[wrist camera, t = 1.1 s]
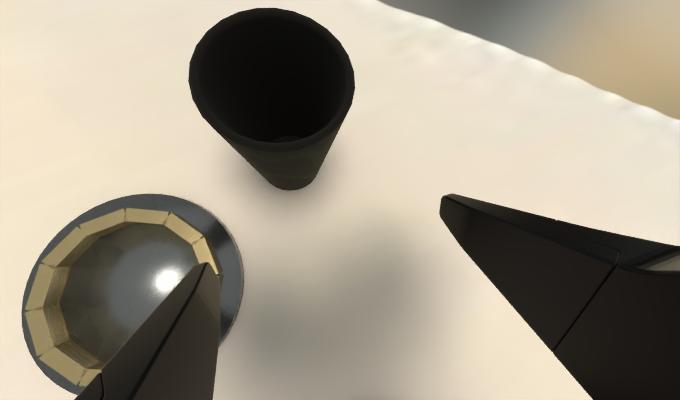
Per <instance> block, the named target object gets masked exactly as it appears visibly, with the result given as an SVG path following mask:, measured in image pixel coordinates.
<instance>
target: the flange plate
mask: <svg viewBox="0 0 680 400" xmlns="http://www.w3.org/2000/svg"><path fill="white" fill-rule="evenodd" d="M204 262H209V263H210V264H211V266H212V267H213V269H214V271H215V273H216V274H217V276H218V278H219V282H220V335H219V344H218V346H219V345H220V343H221V342H222V341H223V339H224V338H225V336H226V335H227V333H228V332H229V330H230V328H231V326H232V324H233V322H234V320H235V318H236V315H237V312H238V309H239V306H240V302H241V298H242V293H243V282H244V279H243V266H242V260H241V256H240V253H239V250H238V247H237V245H236V243H235V241H234V239H233V237H232V235H231V234H230V232H229V231H228V229H227V228H226V227H225V226H224V224H223V223H222V222H221V221H220V220H219V219H218V218H217V217H215V216H214V215H213V214H212V213H211V212H209V211H207V210H206V209H204V208H202V207H201V206H199V205H196V204H194V203H192V202H190V201H187V200H184V199H181V198H178V197H174V196H169V195H162V194H138V195H131V196H126V197H121V198H118V199H114V200H111V201H108V202H105V203H103V204H101V205H98V206H96V207H94V208H92V209H90V210H89V211H87V212H85V213H83V214H82V215H80V216H79V217H77V218H76V219H74V220H73V221H72V222H70V223H69V224H68V225H67V226H66V227H64V228H63V229H62V230H61V231H60V232H59V233H58V234H57V235H56V236H55V237H54V238H53V239H52V240H51V242H50V243H49V244H48V245H47V247H46V248H45V249H44V251H43V252H42V254H41V255H40V256H39V258H38V260H37V262H36V264H35V265H34V267H33V269H32V271H31V274H30V276H29V279H28V281H27V284H26V288H25V292H24V296H23V304H22V327H23V333H24V338H25V341H26V344H27V347H28V349H29V352H30V354H31V356H32V357H33V359H34V361H35V362H36V364H37V365H38V367H39V368H40V369H41V370H42V371H43V373H44V374H45V375H46V376H47V377H48V378H50V379H51V380H52V381H53V382H54V383H56V384H57V385H59V386H60V387H62V388H64V389H65V390H67V391H69V392H71V393H74V394H76V395H79V394H80V393H81V392H82V391H83V389H84V388H85V387H86V386H87V385H88V384H89V383H90V382H91V381H92V379H93V378H94V377H95V376H96V375H97V374H98V373H101V370H102V368H103V367H104V366H105V365H106V364H107V363H108V362H109V360H110V359H111V358H112V357H113V356H114V355H115V354H116V353H117V352H118V350H119V349H120V348H121V347H122V346H123V345H124V344H125V343H126V341H127V340H128V339H129V338H130V337H131V336H132V335H133V334H134V332H135V331H136V330H137V329H138V328H139V327H140V326H141V325H142V324H143V322H144V321H145V320H146V319H147V318H148V317H149V316H150V315H151V313H152V312H153V311H154V310H155V309H156V308H157V307H158V306H159V304H160V303H161V302H162V301H163V300H164V299H165V298H166V297H167V296H168V294H169V293H170V292H171V291H172V290H173V289H174V288H175V287H176V285H177V284H178V283H179V282H180V281H181V280H182V279H183V278H184V276H185V275H186V274H187V273H188V272H189V271H190V270H191V269H192V268H193V266H195V265H197V264H200V263H204Z"/></svg>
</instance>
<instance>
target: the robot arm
mask: <svg viewBox="0 0 680 400" xmlns="http://www.w3.org/2000/svg"><path fill="white" fill-rule="evenodd" d="M439 213H440V217H441V219H442V220H443V222H444V223H445V225H446V226H447V227H448V229H449V230H450V232H451V233H452V235H453V236H454V237H455V239H456V240H457V242H458V243H459V244H460V246H461V247H462V248H463V250H464V251H465V252H466V253H467V254H468V255H469V257H470V258H471V259H472V260H473V261H474V262H475V263H476V265H477V266H478V267H479V268H480V269H481V270H482V272H483V273H484V274H485V275H486V276H487V277H488V279H489V280H490V281H491V282H492V283H493V284H494V285H495V287H496V288H497V289H498V290H499V291H500V292H501V294H502V295H503V296H504V297H505V298H506V299H507V300H508V302H509V303H510V304H511V305H512V306H513V307H514V309H515V310H516V311H517V312H518V313H519V314H520V315H521V317H522V318H523V319H524V320H525V321H526V322H527V324H528V325H529V326H530V327H531V328H532V329H533V331H534V332H535V333H536V334H537V335H538V336H539V337H540V339H541V340H542V341H543V342H544V343H545V344H546V346H547V347H548V348H549V349H550V350H551V351H552V352H553V354H554V355H555V356H556V357H557V358H558V360H559V361H560V362H561V363H562V364H563V365H564V367H565V368H566V369H567V370H568V371H569V372H570V373H571V375H572V376H573V377H574V378H575V379H576V380H577V382H578V383H579V384H580V385H581V386H582V387H583V389H584V390H585V391H586V392H587V393H588V394H589V395H590V397H591V398H592V399H593V400H680V246H674V245H669V244H664V243H659V242H654V241H649V240H644V239H640V238H635V237H630V236H625V235H620V234H616V233H611V232H606V231H602V230H597V229H592V228H588V227H584V226H580V225H576V224H571V223H567V222H564V221H560V220H557V221H556V220H555V219H551V218H548V217H544V216H540V215H536V214H532V213H528V212H524V211H520V210H516V209H512V208H508V207H504V206H500V205H496V204H492V203H488V202H484V201H480V200H476V199H472V198H468V197H464V196H460V195H456V194H448V195H444V196H443V197H442V198H441V204H440V212H439ZM219 335H220V282H219V278H218V276H217V274H216V273H215V271H214V269H213V267H212V266H211V264H210V263H209V262H204V263H200V264H197V265H195V266H193V268H192V269H191V270H190V271H189V272H188V273H187V274H186V275H185V276H184V278H183V279H182V280H181V281H180V282H179V283H178V284H177V285H176V287H175V288H174V289H173V290H172V291H171V292H170V293H169V294H168V296H167V297H166V298H165V299H164V300H163V301H162V302H161V303H160V304H159V306H158V307H157V308H156V309H155V310H154V311H153V312H152V313H151V315H150V316H149V317H148V318H147V319H146V320H145V321H144V322H143V324H142V325H141V326H140V327H139V328H138V329H137V330H136V331H135V332H134V334H133V335H132V336H131V337H130V338H129V339H128V340H127V341H126V343H125V344H124V345H123V346H122V347H121V348H120V349H119V350H118V352H117V353H116V354H115V355H114V356H113V357H112V358H111V359H110V360H109V362H108V363H107V364H106V365H105V366H104V367H103V368H102V370H101V373H98V374H97V375H96V376H95V377H94V378H93V379H92V381H91V382H90V383H89V384H88V385H87V386H86V387H85V388H84V389H83V391H82V392H81V393H80V394H79V395H78V396H77V397H76V398H75V399H74V400H213V391H214V382H215V373H216V363H217V354H218V344H219Z"/></svg>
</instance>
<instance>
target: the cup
mask: <svg viewBox="0 0 680 400" xmlns="http://www.w3.org/2000/svg"><path fill="white" fill-rule="evenodd" d="M188 81H189V85H190V90H191V94H192V99H193V101H194V102H195V104H196V106H197V108H198V110H199V112H200V113H201V115H202V117H203V118H204V119H205V120H206V121H207V122H208V123H209V124H210V125H211V126H212V127H213V128H214V129H215V130H216V131H217V132H218V133H219V134H220V135H221V136H222V137H223V138H224V139H225V140H226V141H227V142H228V143H229V144H230V145H231V146H232V147H233V148H234V149H235V150H236V151H237V152H238V153H239V154H241V155H242V156H243V157H244V158H245V159H246V160H247V161H248V162H249V163H250V164H251V165H252V166H253V167H254V168H255V169H256V170H257V171H258V172H259V173H260V174H261V175H262V176H263V177H264V178H265V179H266V180H267V181H268V182H270V183H271V184H272V185H274V186H275V187H277V188H280V189H283V190H297V189H300V188H303V187H305V186H307V185H308V184H310V183H311V182H312V181H313V179H314V178H315V177H316V175H317V173H318V171H319V169H320V167H321V165H322V163H323V161H324V159H325V157H326V155H327V153H328V151H329V149H330V147H331V145H332V143H333V141H334V139H335V137H336V135H337V133H338V131H339V129H340V127H341V125H342V123H343V121H344V119H345V117H346V115H347V113H348V111H349V109H350V107H351V105H352V100H353V95H354V90H355V81H354V71H353V68H352V65H351V62H350V59H349V56H348V54H347V53H346V51H345V50H344V48H343V46H342V45H341V43H340V42H339V40H338V39H336V38H335V37H334V36H333V35H332V34H331V33H330V32H329V31H328V30H327V29H326V28H325V27H323V26H322V25H320V24H319V23H317V22H316V21H314V20H313V19H311V18H309V17H306V16H304V15H301V14H299V13H296V12H294V11H289V10H283V9H278V8H255V9H251V10H246V11H241V12H238V13H235V14H233V15H231V16H229V17H227V18H224V19H222V20H221V21H220V22H218V23H217V24H216V25H215V26H213V27H212V28H211V29H209V30H208V31H207V32H206V34H205V35H204V36H203V38H202V39H201V40H200V42H199V43H198V44H197V45H196V48H195V50H194V53H193V55H192V58H191V61H190V66H189V80H188Z"/></svg>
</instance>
